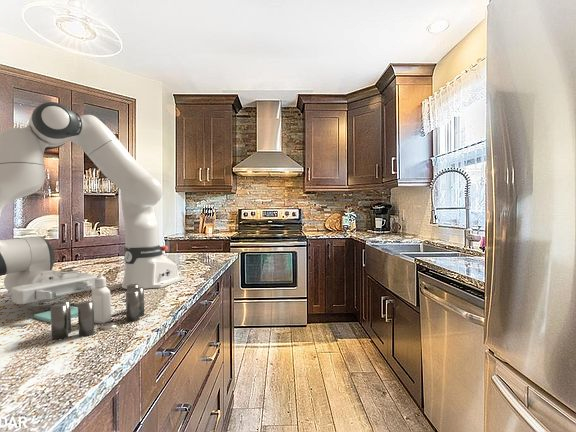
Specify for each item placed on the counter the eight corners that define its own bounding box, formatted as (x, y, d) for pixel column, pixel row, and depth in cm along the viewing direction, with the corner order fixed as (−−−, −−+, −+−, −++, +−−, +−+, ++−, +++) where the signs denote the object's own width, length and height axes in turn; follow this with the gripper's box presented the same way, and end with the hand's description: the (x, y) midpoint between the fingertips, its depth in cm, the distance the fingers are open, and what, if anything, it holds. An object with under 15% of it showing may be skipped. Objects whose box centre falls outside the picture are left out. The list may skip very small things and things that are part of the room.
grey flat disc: (107, 325, 82) (107, 322, 82) (121, 326, 81) (121, 323, 81) (96, 331, 78) (96, 327, 78) (111, 331, 78) (111, 328, 78)
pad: (70, 308, 96) (69, 305, 96) (89, 312, 91) (88, 309, 91) (33, 317, 88) (33, 314, 88) (52, 323, 83) (52, 319, 83)
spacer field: (134, 308, 94) (134, 283, 94) (158, 313, 90) (157, 286, 90) (42, 337, 74) (41, 305, 74) (67, 344, 70) (65, 311, 70)
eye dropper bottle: (90, 325, 81) (88, 275, 81) (92, 318, 86) (91, 271, 86) (111, 322, 83) (109, 273, 83) (112, 316, 88) (110, 270, 88)
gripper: (-1, 282, 88) (27, 287, 81) (80, 269, 106) (108, 272, 99) (0, 306, 88) (27, 313, 81) (81, 289, 106) (108, 294, 99)
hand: (72, 291), depth 90 cm, fingers open, 8 cm apart
